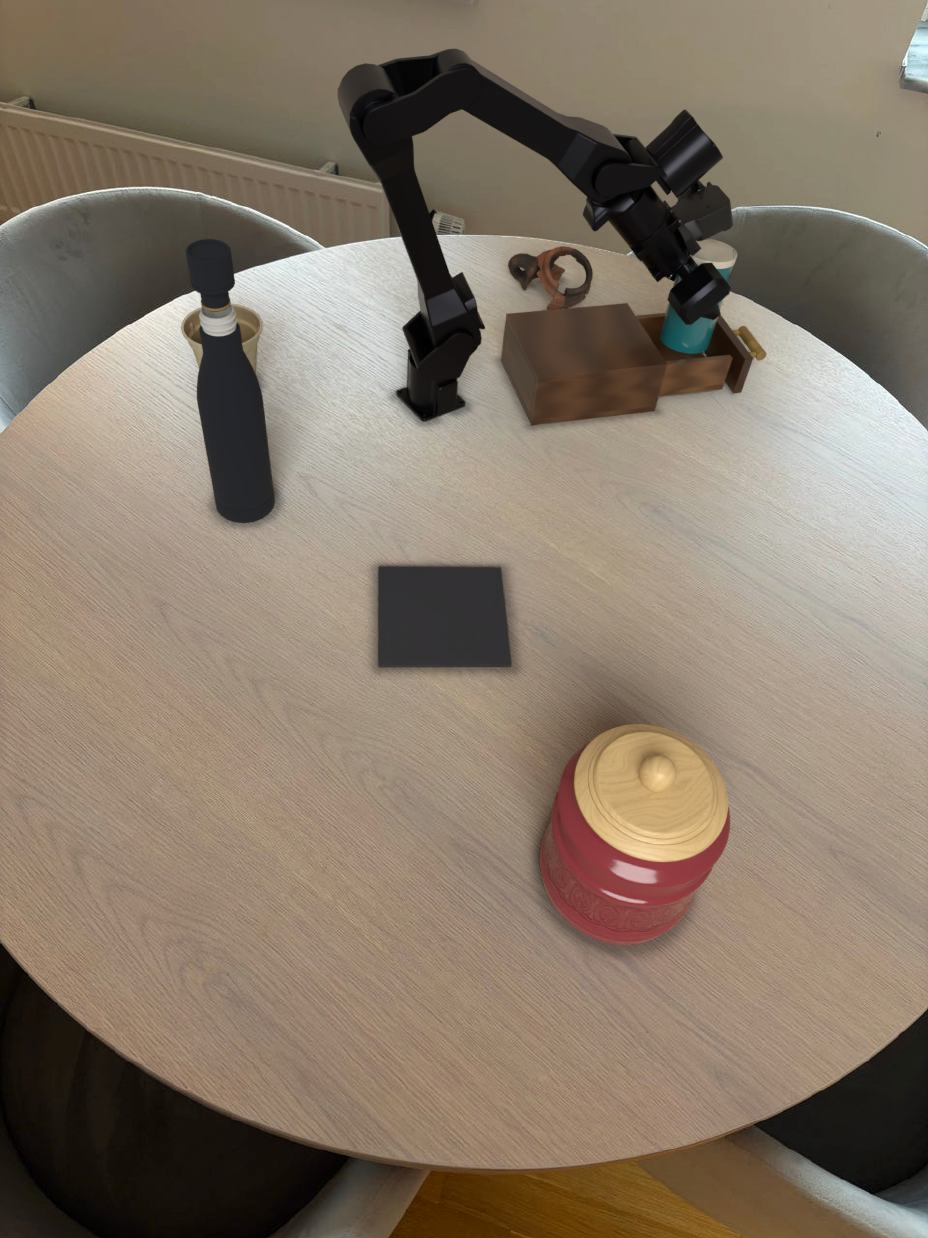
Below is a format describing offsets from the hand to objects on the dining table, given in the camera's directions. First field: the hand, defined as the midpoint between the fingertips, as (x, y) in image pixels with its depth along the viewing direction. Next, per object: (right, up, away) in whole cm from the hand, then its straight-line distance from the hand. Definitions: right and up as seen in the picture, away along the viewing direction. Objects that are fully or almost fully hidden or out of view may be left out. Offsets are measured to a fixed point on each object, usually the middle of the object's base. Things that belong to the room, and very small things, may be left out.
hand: (705, 301), depth 118 cm
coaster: (-32, -39, -22) cm, 55 cm away
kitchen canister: (-18, -61, -38) cm, 74 cm away
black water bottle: (-54, -27, -13) cm, 62 cm away
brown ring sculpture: (-18, +7, +18) cm, 27 cm away
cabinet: (-16, -9, +5) cm, 19 cm away
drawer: (-1, -6, +7) cm, 10 cm away
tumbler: (-2, -4, +3) cm, 6 cm away
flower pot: (-59, -11, 0) cm, 60 cm away
